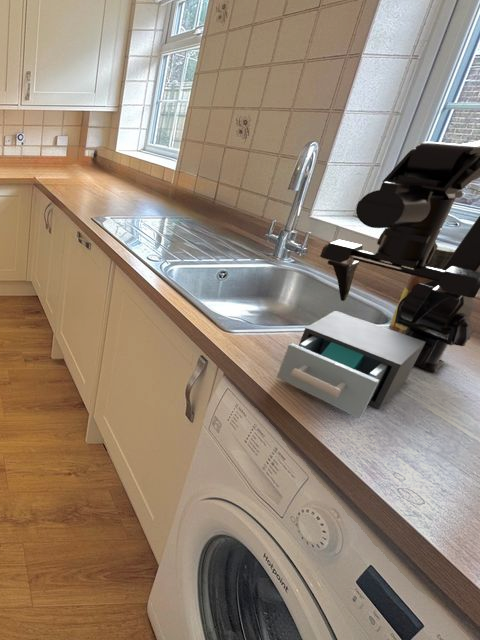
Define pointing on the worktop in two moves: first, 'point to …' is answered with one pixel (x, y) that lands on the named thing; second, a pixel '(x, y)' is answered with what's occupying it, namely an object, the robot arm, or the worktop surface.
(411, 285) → the sauce bottle
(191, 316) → the worktop surface
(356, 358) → the teal cube white top
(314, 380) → the dispenser drawer
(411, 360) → the grey drawer box
